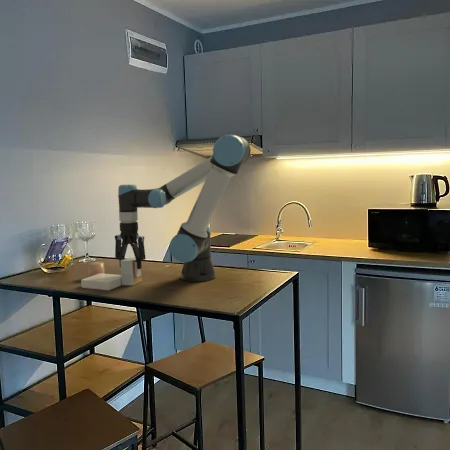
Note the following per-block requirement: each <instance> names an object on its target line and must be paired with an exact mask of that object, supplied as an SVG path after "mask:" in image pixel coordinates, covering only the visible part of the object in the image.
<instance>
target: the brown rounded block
mask: <svg viewBox="0 0 450 450" xmlns="http://www.w3.org/2000/svg"><path fill="white" fill-rule="evenodd" d="M87 272H88V277H91V276H93V275H96V274H99V273H103V274H106V273H105V262H104V261H92V262H89V263H87Z"/></svg>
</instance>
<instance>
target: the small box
mask: <svg viewBox="0 0 450 450" xmlns="http://www.w3.org/2000/svg"><path fill="white" fill-rule="evenodd" d="M135 261H136V258H135V256H134V257H131V256H130V257H127V258H125V260H122V261H120V262H121V267H120V275H121V278H122V285H121V286H131V287H132V286H135V285H137V284H140V283H141V282H142V280H143V279H142V277H143V276H142V268H141V269H140V275H141V276H139V277H135ZM120 262H119V263H120Z"/></svg>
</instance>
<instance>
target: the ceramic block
mask: <svg viewBox="0 0 450 450" xmlns="http://www.w3.org/2000/svg"><path fill="white" fill-rule="evenodd" d="M80 282H81V288H84V289H92V290H102V291H110V290H112V289H113V290H114V289H116V288H118V287H120V286H123V285H122V278H121V274H113V273H112V274H111V273H105V274H103V273H99V274H96V275H93V276H91V277H89V276H88V277H85V278H83V279H81V280H80Z"/></svg>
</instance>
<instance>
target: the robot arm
mask: <svg viewBox="0 0 450 450" xmlns="http://www.w3.org/2000/svg"><path fill="white" fill-rule="evenodd" d="M250 156H251V146H250V144H249V142H248V141H247V140H246V139H245V137H242V136H239V135H235V134H233V133H231V134H225V135H222V136H220V137H219V138H217V140H216V141H215V142H214V145H213V148H212V156H210V157H208V158H206V159H205V160H203V161H202V162H200V163H198V164H197V165H195V166H193V167H191V168H190V169H188V170H187V171H185V172H183V173H181V174H180V175H178V176H177V177H175V178H173V179H172V180H170V181H168V182H166V183H165V184H164V185H162V186H159V187H158V188H157V187H156V188H150V189H147V188H146V189H138V186H137V185H136V184H120V185H118V187H117V188H118V189H117V190H118V191H117V192H118V195H117V197H118V218H119V219H118V221H119V222H120V223H119V232H120V234H116V235H114V240H115V244H114V245H115V247H114V248H115V251H114V254H115V255H114V258H115V259H117V260H119V261H118V262H119V267H120V268H121V262H120V261H122V260H125V259H126V255H127V254H126V253H127V249H128V245H130V247H131V249H132V252H133V255H134V257H135V258H136V261H135V277H139V276H141V275H142V274H141V275H140V269H141V270H142V268H143V267H142V261H144V260H146V252H145V236H143V235H140V234H139V232H138V231H139V222H138V219H139V218H138V209H139V208H141V209H143V208H145V209H146V208H151V209H158V208H160V209H161V208H164V207H165V206H166V205H169V204H170V203H171V202H172V201H174V200H175V199H177V198H178V197H180V196H182V195H184V194H186V193H187V192H188V191H191V190H192V189H195V188H196V187H198V186H200V185H201V184H203V185H202V187H201V189H200V192H199V194H198V196H197V198H196V200H195V202H194V204H193V208H192V209H191V211H190V213H189V216H188V218H187V220H186V221H185V222H182V223H181V225H180V226H179V229H178V231H177V232H176V234H175V235H174V236H172V238H171V239H170V242H169V252H170V254H171V257H173V259H175V260H177V261H178V262H180V263H183V264H182V265H183V266H182V269H181V272H180V276H181V277H180V279H181V280H183V281H186V282H207V281H211V280H214V279H215V278H216V269H215V267H214V264H213V261H212V251H211V250H212V249H211V245H212V244H211V243H212V241H211V229H210V228H211V227H210V226H209V225H210V223H211V221H212V220H213V217H214V215H215V212H216V211H217V208H218V206H219V203H220V202H221V199H222V197H223V196H224V193H225V192H226V190H227V187H228V184H229V183H230V181H231V179H232V177H236V176H237V175H238V173H239V170H240V168H241V167H242V165H243V164H245V163H246V162H247V161H248V159H249V158H250Z"/></svg>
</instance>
